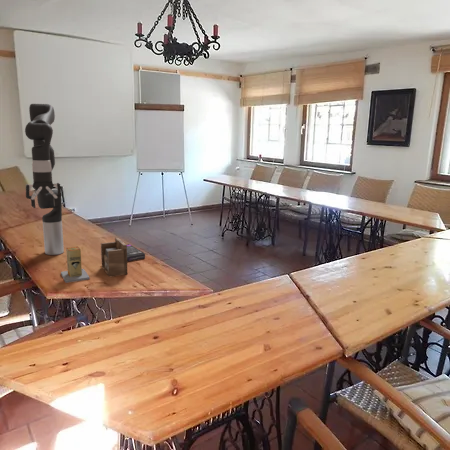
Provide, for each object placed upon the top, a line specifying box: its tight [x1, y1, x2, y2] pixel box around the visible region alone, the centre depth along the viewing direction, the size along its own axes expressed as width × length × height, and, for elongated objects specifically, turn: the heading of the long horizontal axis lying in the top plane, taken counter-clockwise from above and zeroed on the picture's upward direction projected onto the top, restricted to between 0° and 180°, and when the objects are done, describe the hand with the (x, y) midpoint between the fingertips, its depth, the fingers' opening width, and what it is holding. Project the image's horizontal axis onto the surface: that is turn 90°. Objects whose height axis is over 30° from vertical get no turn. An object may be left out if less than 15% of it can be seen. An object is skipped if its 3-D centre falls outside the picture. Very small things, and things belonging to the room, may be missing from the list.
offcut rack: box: [100, 237, 128, 278], centre depth 185 cm, size 14×8×14 cm, turn 30°
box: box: [126, 243, 146, 263], centre depth 209 cm, size 14×4×20 cm
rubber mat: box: [60, 268, 91, 284], centre depth 178 cm, size 12×10×1 cm
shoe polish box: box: [65, 246, 83, 277], centre depth 177 cm, size 5×5×12 cm
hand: (44, 207), depth 177 cm, fingers open, 8 cm apart
